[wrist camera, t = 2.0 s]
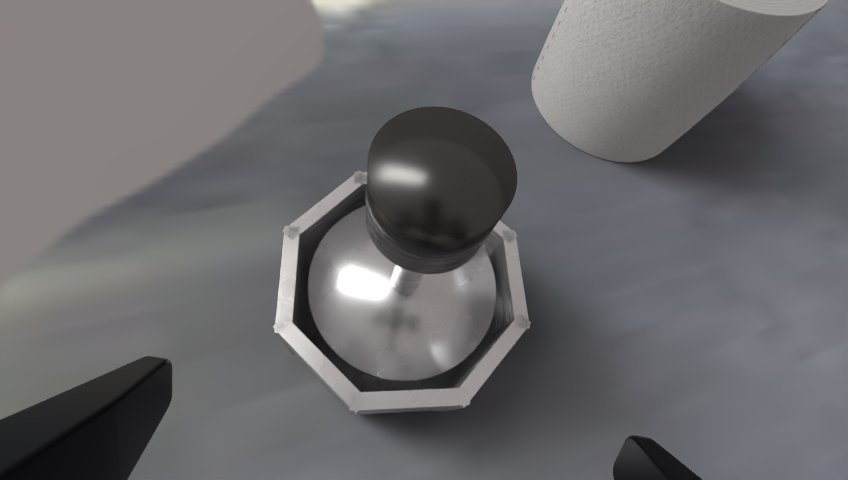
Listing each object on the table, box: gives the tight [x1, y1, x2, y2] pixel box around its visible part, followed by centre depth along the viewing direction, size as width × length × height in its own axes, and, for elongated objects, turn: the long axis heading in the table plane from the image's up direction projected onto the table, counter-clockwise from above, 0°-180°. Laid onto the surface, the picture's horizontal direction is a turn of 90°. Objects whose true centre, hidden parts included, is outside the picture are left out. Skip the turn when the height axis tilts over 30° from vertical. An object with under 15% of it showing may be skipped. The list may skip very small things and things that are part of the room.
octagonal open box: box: [273, 171, 531, 416], centre depth 20 cm, size 13×10×6 cm
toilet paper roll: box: [531, 0, 829, 162], centre depth 26 cm, size 12×12×12 cm
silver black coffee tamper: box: [308, 107, 517, 382], centre depth 14 cm, size 8×8×9 cm
